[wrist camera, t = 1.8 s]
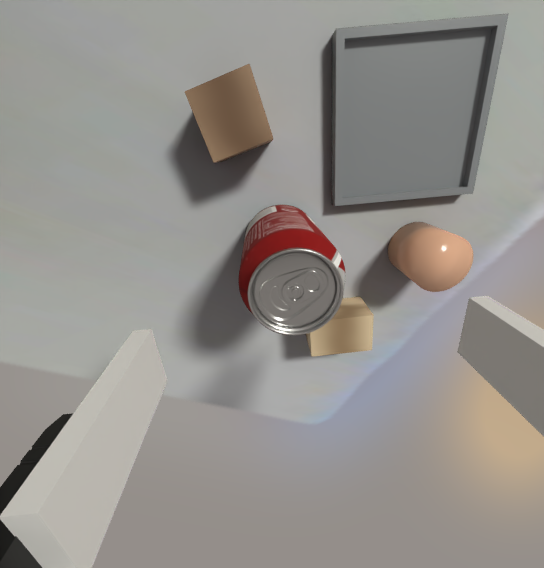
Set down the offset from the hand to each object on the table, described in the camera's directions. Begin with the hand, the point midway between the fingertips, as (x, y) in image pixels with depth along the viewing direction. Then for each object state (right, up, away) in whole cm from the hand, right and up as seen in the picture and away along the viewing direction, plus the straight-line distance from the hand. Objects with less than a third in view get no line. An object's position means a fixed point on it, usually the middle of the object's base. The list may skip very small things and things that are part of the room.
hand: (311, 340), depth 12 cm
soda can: (-1, +7, +15) cm, 17 cm away
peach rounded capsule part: (+12, +6, +16) cm, 21 cm away
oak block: (+5, -1, +19) cm, 20 cm away
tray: (+9, +16, +12) cm, 22 cm away
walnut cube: (-5, +15, +11) cm, 20 cm away
